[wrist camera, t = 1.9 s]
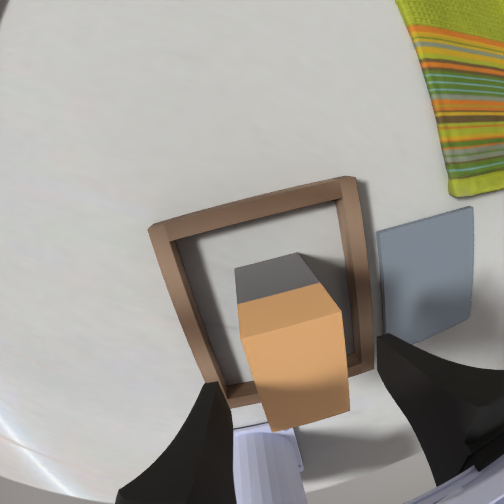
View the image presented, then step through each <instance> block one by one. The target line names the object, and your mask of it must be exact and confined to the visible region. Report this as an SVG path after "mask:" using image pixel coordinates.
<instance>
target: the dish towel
mask: <svg viewBox="0 0 504 504" xmlns="http://www.w3.org/2000/svg"><path fill="white" fill-rule="evenodd" d="M395 2H396V4H397V6H398V8H399V11H400V13H401V15H402V18H403V20H404V23H405V25H406V27H407V29H408V32H409V34H410V37H411V39H412V42H413V44H414V47H415V50H416V53H417V56H418V59H419V62H420V65H421V68H422V71H423V74H424V78H425V81H426V84H427V88H428V91H429V95H430V98H431V102H432V106H433V110H434V114H435V117H436V121H437V128H438V133H439V137H440V142H441V148H442V152H443V156H444V161H445V166H446V170H447V172H448V177H449V181H448V190H449V194H450V195H452V196H455V197H466V196H473V195H476V194H480V193H485V192H486V193H487V192H493V191H497V190H502V189H504V0H395Z"/></svg>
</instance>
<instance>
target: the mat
mask: <svg viewBox="0 0 504 504" xmlns="http://www.w3.org/2000/svg"><path fill="white" fill-rule="evenodd" d="M376 236H377V244H378V254H379V264H380V276H381V290H382V308H383V335H384V334H387V333H390V334H392V335H394V336H396V337H398V338H400V339H402V340H404V341H406V342H407V343H409V344H411V345H412V344H415V343H417V342H419V341H422V340H424V339H426V338H428V337H431V336H433V335H435V334H437V333H439V332H441V331H444V330H446V329H448V328H450V327H452V326H454V325H456V324H458V323H460V322H462V321H464V320H466V319H468V318H469V315H470V306H471V296H472V284H473V267H474V212H473V207H471V206H467V207H464V208H460V209H457V210H453V211H450V212H446V213H442V214H439V215H435V216H432V217H428V218H424V219H421V220H417V221H414V222H410V223H406V224H403V225H399V226H395V227H392V228H388V229H384V230H380V231H377V232H376Z"/></svg>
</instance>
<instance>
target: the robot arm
mask: <svg viewBox="0 0 504 504" xmlns="http://www.w3.org/2000/svg"><path fill="white" fill-rule="evenodd" d="M377 371H378V373H379V375H380V377H381V379H382V381H383V383H384V385H385V387H386V388H387V390H388V391H389V393H390V394H391V396H392V397H393V399H394V400H395V402H396V403H397V405H398V406H399V408H400V409H401V410H402V412H403V413H404V415H405V416H406V418H407V419H408V421H409V423H410V424H411V426H412V428H413V430H414V432H415V434H416V436H417V438H418V440H419V442H420V444H421V447H422V449H423V451H424V453H425V455H426V458H427V461H428V463H429V466H430V468H431V471H432V474H433V477H434V480H435V483H436V486H437V487H436V488H435V489H432V490H431V491H429V492H427V493H425V494H423V495H421V496H419V497H417V498H414V499H413V500H410V501H408V502H406V503H404V504H504V370H492V369H482V368H476V367H471V366H466V365H462V364H458V363H455V362H451V361H448V360H445V359H442V358H440V357H437V356H435V355H432V354H430V353H428V352H426V351H423V350H421V349H419V348H417V347H415V346H413V345H411V344H409V343H407V342H406V341H404V340H402V339H400V338H398V337H396V336H394V335H392V334H390V333H387V334H384V335H381V336H379V337H377ZM302 471H304V466H303V462H302V459H301V455H300V451H299V447H298V444H297V440H296V436H295V433H294V429H293V428H290V429H286V430H281V431H277V432H273V433H272V431H271V429H270V426H269V423H266V424H261V425H256V426H251V427H246V428H241V429H236V430H233V422H232V415H231V410H230V408H229V405H228V403H227V401H226V399H225V396H224V394H223V392H222V389H221V387H220V385H219V382H218V381H215V382H210V383H205V384H204V385H203V387H202V389H201V391H200V394H199V396H198V398H197V400H196V402H195V404H194V406H193V408H192V410H191V412H190V414H189V416H188V417H187V419H186V421H185V423H184V424H183V426H182V427H181V429H180V431H179V432H178V434H177V435H176V437H175V438H174V440H173V441H172V442H171V444H170V445H169V446H168V447H167V449H166V450H165V451H164V452H163V453H162V454H161V456H160V457H159V458H158V459H157V460H156V461H155V462H154V463H153V464H152V465H151V466H150V467H149V468H148V469H146V470H145V471H144V472H143V473H142V474H141V475H139V476H138V477H137V478H135V479H134V480H133V481H131V482H130V483H128V484H127V485H125V486H124V487H123V488H121V489H119V491H118V494H117V497H116V501H115V504H307V499H306V495H305V491H304V487H303V483H302V479H301V475H300V472H302Z"/></svg>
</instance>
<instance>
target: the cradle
mask: <svg viewBox="0 0 504 504" xmlns="http://www.w3.org/2000/svg"><path fill="white" fill-rule="evenodd" d="M330 200H335V202H336V208H337V213H338V219H339V225H340V231H341V237H342V244H343V251H344V257H345V265H346V272H347V280H348V288H349V296H350V305H351V315H352V325H353V336H354V349H355V352H354V353H351V354H348V355H346V360H347V371H348V378H349V377H352V376H355V375H358V374H361V373H364V372H366V371H369V370H372V369H374V339H373V318H372V303H371V290H370V279H369V268H368V259H367V250H366V242H365V234H364V227H363V220H362V213H361V207H360V201H359V195H358V189H357V183H356V178H355V177H351V176H342V177H337V178H333V179H328V180H323V181H319V182H314V183H310V184H305V185H301V186H296V187H292V188H288V189H283V190H279V191H275V192H271V193H267V194H262V195H258V196H254V197H250V198H246V199H242V200H238V201H235V202H231V203H227V204H223V205H219V206H215V207H212V208H208V209H204V210H201V211H197V212H193V213H190V214H186V215H183V216H179V217H175V218H172V219H169V220H165V221H162V222H158V223H155V224H153V225H152V226H150V227H149V228H148V233H149V236H150V239H151V242H152V245H153V248H154V251H155V254H156V257H157V260H158V263H159V266H160V269H161V272H162V275H163V278H164V280H165V283H166V286H167V289H168V292H169V294H170V297H171V300H172V302H173V305H174V308H175V310H176V313H177V315H178V318H179V321H180V323H181V326H182V328H183V331H184V333H185V336H186V338H187V341H188V343H189V346H190V348H191V350H192V353H193V355H194V358H195V360H196V362H197V365H198V367H199V369H200V371H201V374H202V376H203V378H204V380H205V383H210V382H215V381H218V382H219V385H220V387H221V389H222V392H223V394H224V396H225V399H226V401H227V403H228V405H229V408H230V409H231V408H236V407H241V406H246V405H251V404H256V403H260V402H261V400H260V397H259V394H258V391H257V388H256V385H255V382H254V381H251V382H246V383H241V384H237V385H232V386H227V384H226V382H225V379H224V377H223V374H222V372H221V369H220V367H219V364H218V362H217V359H216V357H215V354H214V351H213V349H212V346H211V343H210V341H209V338H208V335H207V333H206V330H205V327H204V325H203V322H202V319H201V316H200V313H199V311H198V308H197V305H196V302H195V299H194V296H193V293H192V290H191V287H190V285H189V282H188V279H187V276H186V273H185V269H184V266H183V263H182V260H181V257H180V254H179V251H178V248H177V244H176V241H175V240H176V239H180V238H184V237H187V236H191V235H195V234H198V233H202V232H206V231H210V230H214V229H217V228H221V227H225V226H229V225H233V224H236V223H240V222H244V221H248V220H252V219H256V218H260V217H264V216H268V215H272V214H276V213H280V212H284V211H288V210H292V209H297V208H301V207H305V206H309V205H313V204H317V203H322V202H326V201H330Z"/></svg>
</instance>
